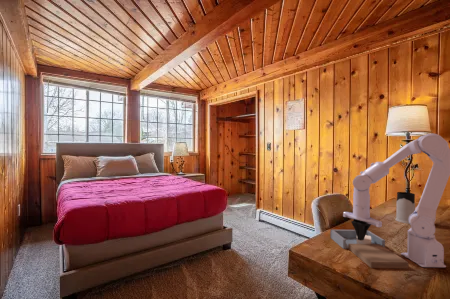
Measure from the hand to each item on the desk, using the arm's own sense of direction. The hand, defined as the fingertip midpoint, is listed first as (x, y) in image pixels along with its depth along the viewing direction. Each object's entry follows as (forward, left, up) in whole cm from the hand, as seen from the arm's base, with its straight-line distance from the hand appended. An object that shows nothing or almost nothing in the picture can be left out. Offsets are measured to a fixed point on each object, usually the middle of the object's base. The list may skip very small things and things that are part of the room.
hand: (360, 239), depth 91 cm
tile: (+3, -3, -2) cm, 4 cm away
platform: (-9, 0, -3) cm, 10 cm away
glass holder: (+35, -45, -3) cm, 57 cm away
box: (+3, 0, -3) cm, 4 cm away
